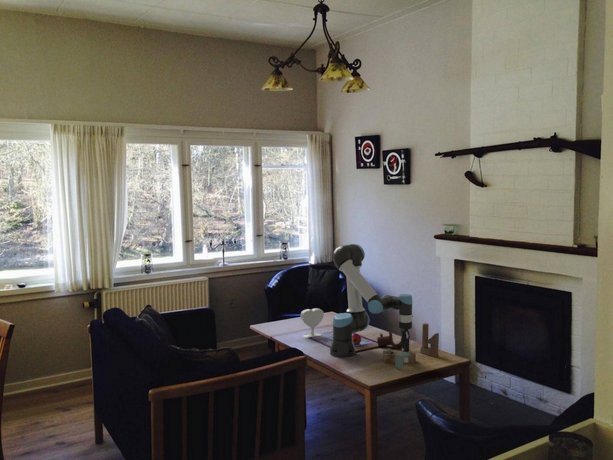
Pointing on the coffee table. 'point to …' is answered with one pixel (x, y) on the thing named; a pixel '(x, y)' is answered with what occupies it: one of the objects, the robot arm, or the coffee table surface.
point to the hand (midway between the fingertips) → (405, 360)
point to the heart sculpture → (312, 319)
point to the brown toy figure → (387, 341)
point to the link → (391, 357)
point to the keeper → (400, 359)
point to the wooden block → (429, 342)
